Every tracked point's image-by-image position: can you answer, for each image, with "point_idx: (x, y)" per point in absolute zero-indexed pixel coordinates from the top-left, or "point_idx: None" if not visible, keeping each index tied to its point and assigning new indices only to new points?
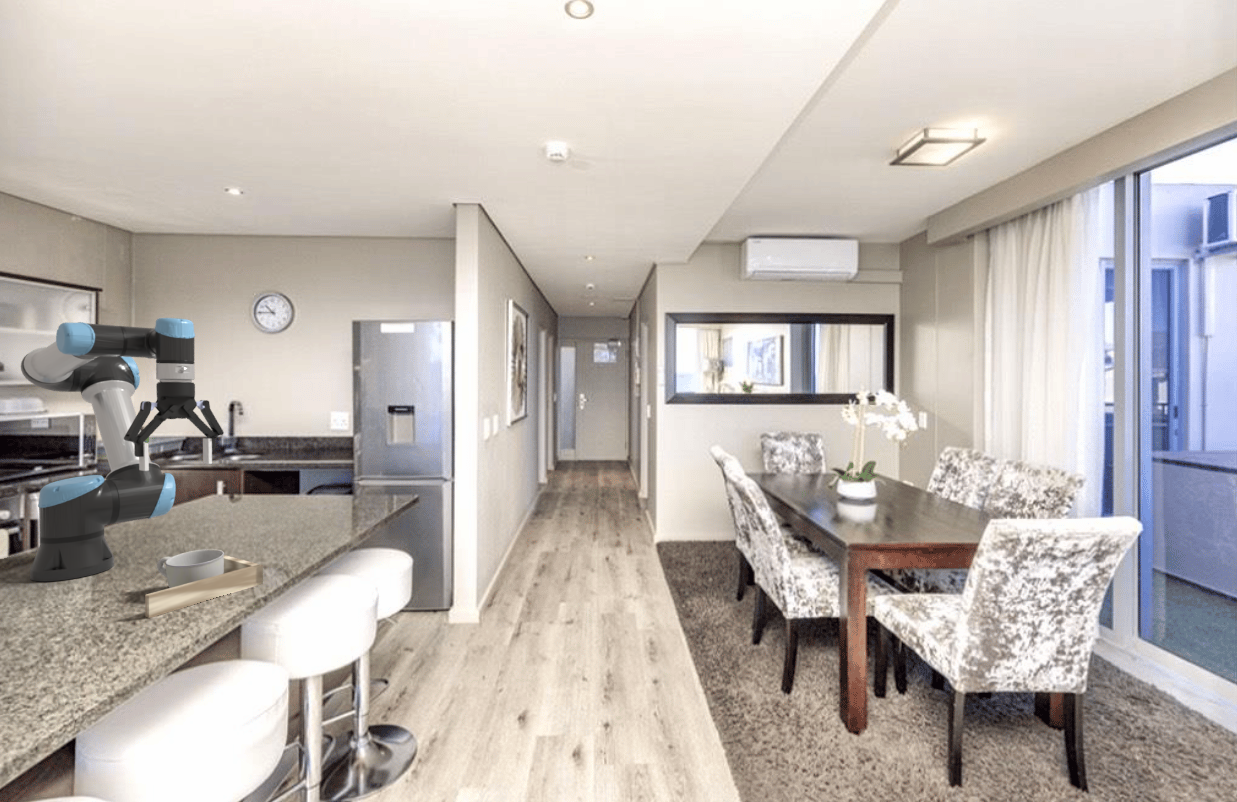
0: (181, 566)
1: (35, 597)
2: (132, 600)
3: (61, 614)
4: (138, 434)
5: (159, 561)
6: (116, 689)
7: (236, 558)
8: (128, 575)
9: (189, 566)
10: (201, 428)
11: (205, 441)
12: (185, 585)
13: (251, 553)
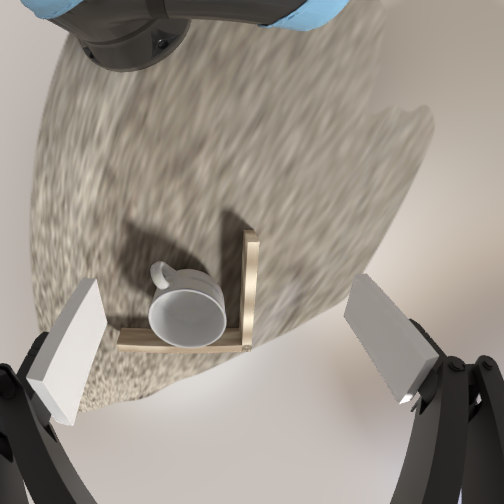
0: (159, 337)
1: (58, 132)
2: (124, 262)
3: (63, 243)
4: (7, 429)
5: (151, 276)
6: (93, 408)
7: (254, 298)
8: (166, 121)
9: (167, 341)
10: (412, 454)
11: (404, 369)
12: (155, 350)
13: (341, 181)
